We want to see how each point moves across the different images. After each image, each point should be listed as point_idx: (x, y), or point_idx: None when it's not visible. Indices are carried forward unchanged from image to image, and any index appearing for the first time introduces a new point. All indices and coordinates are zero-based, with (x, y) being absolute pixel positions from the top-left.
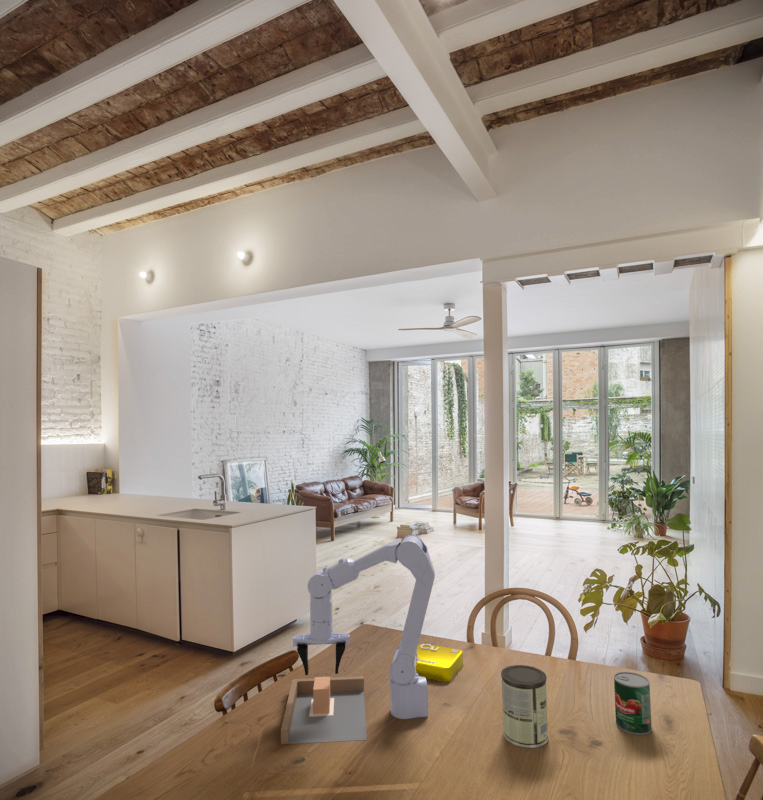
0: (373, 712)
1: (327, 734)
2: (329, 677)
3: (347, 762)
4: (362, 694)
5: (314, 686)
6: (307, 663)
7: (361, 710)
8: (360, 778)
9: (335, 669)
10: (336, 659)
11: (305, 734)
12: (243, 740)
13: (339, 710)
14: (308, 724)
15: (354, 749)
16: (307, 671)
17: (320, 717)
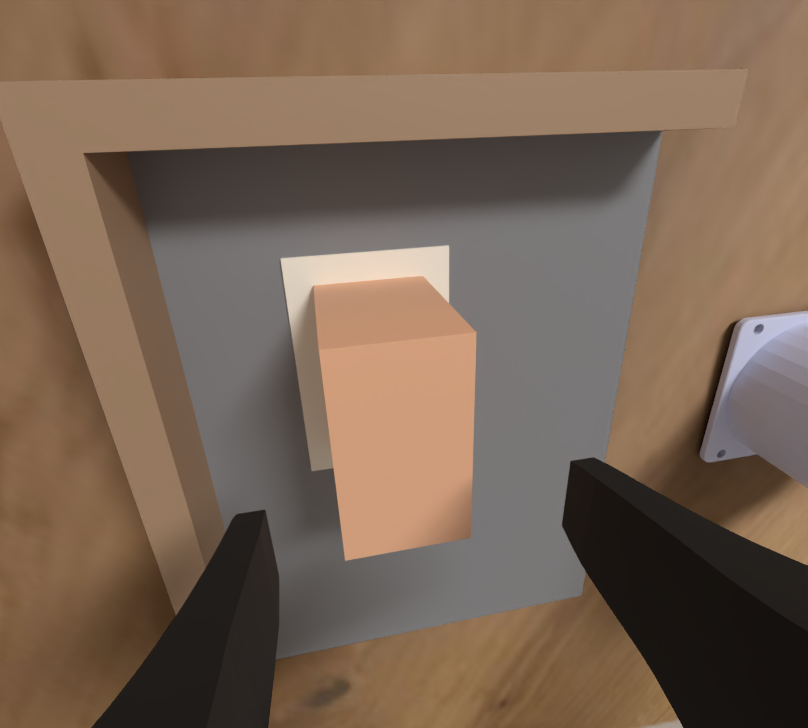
0: (649, 367)
1: (427, 587)
2: (470, 354)
3: (498, 671)
4: (640, 194)
5: (347, 519)
6: (257, 665)
7: (599, 391)
8: (531, 715)
9: (589, 575)
10: (677, 699)
11: (325, 602)
12: (9, 642)
13: (481, 396)
14: (323, 533)
15: (526, 616)
16: (276, 627)
17: None
